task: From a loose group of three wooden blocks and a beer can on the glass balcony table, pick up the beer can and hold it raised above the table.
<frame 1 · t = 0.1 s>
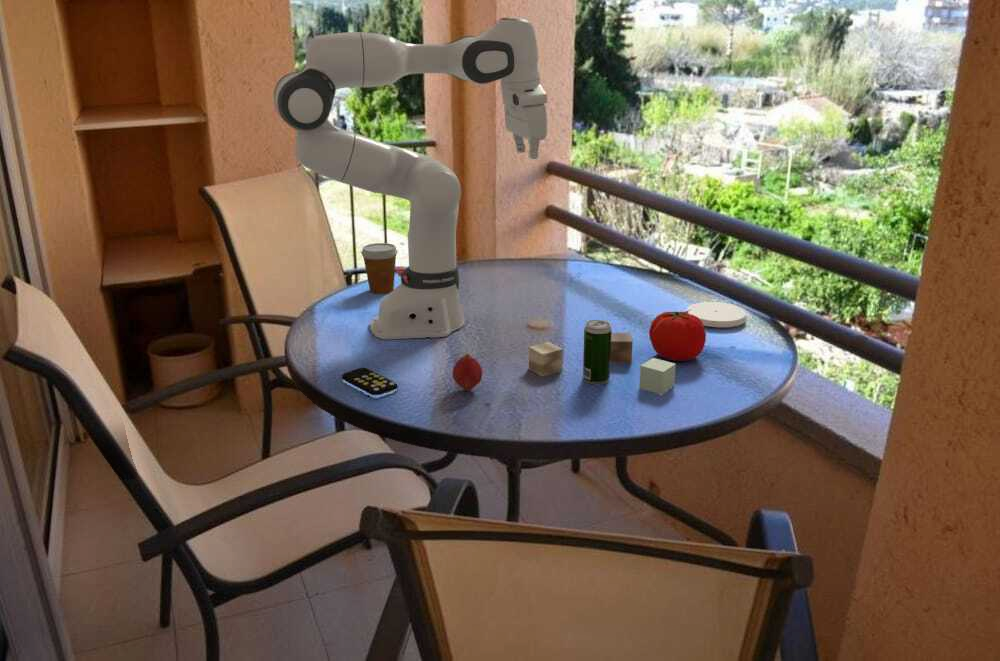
hand: (527, 155, 193), 39 cm above the table, tool pointing down, fingers open, 8 cm apart
tomato: (675, 357, 181), on the table
beer can: (596, 380, 170), on the table
disposable coffee cup: (381, 291, 226), on the table
onion: (467, 391, 165), on the table
sage painted block: (656, 387, 166), on the table
plastic lid: (715, 322, 202), on the table
beech block: (545, 370, 175), on the table
walnut block: (618, 358, 180), on the table
remote control: (369, 388, 168), on the table
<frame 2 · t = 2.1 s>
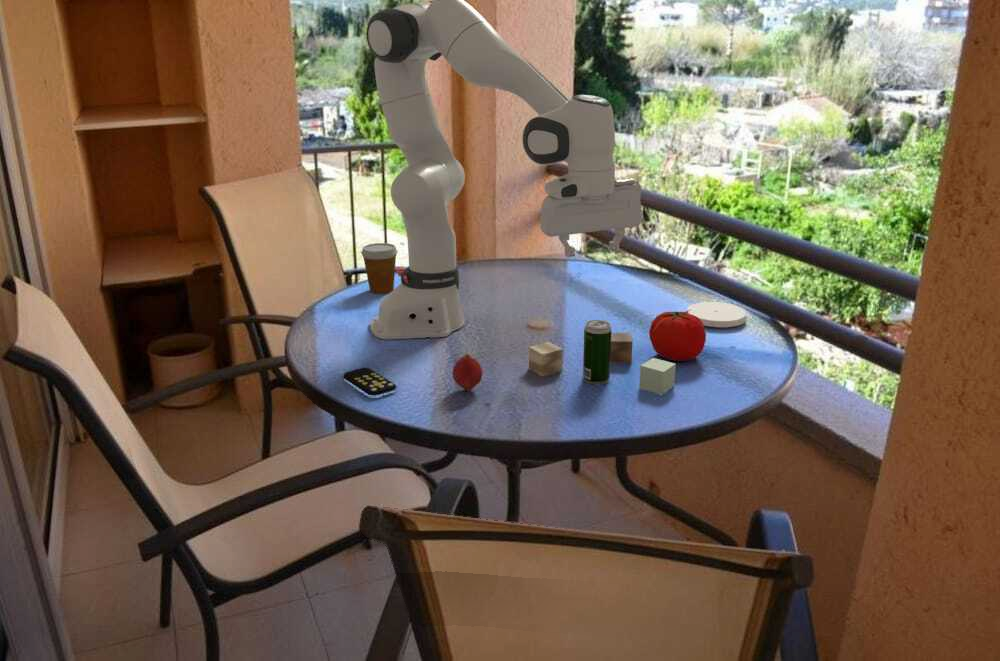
hand: (592, 253, 165), 25 cm above the table, tool pointing down, fingers open, 8 cm apart
nothing on the table moved.
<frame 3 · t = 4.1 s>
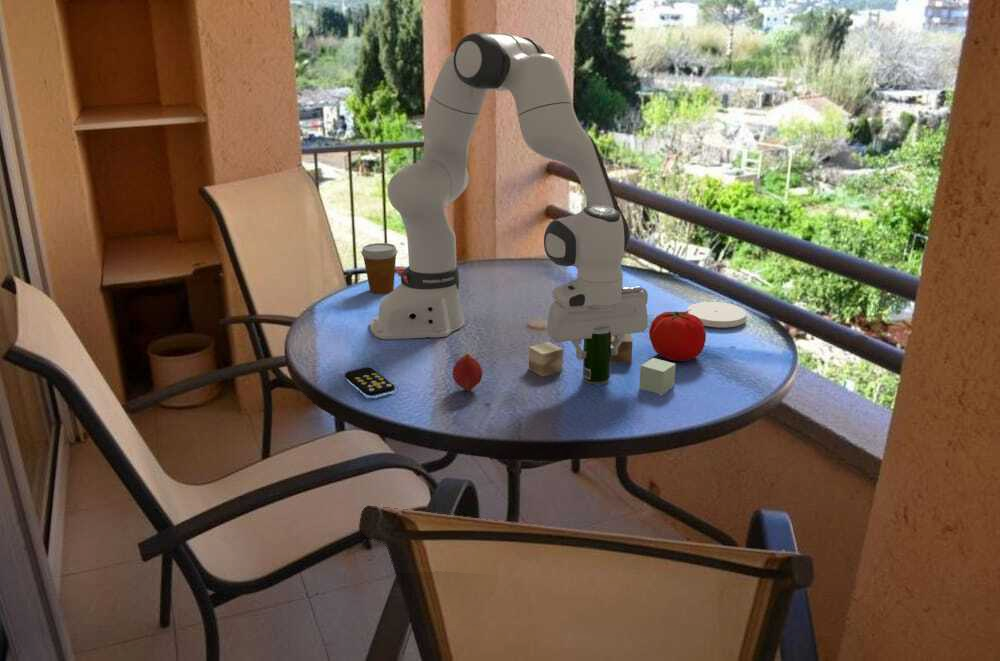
hand: (596, 356, 168), 5 cm above the table, tool pointing down, fingers closed on beer can, 5 cm apart
beer can: (596, 380, 170), on the table, touching gripper
everything else where it was.
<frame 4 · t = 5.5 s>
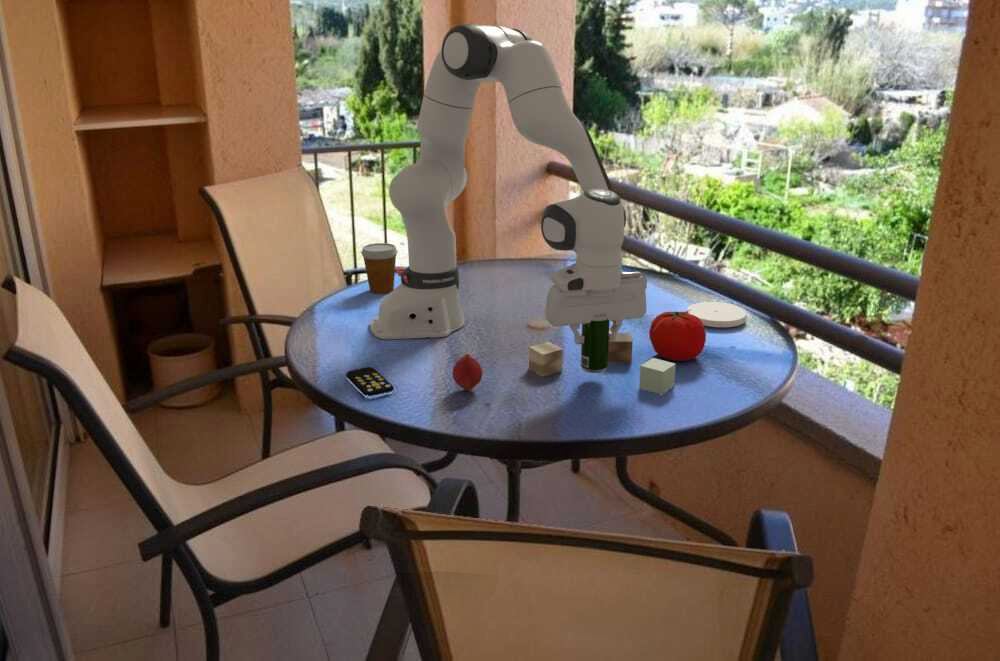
hand: (594, 341, 167), 8 cm above the table, tool pointing down, fingers closed on beer can, 5 cm apart
beer can: (594, 369, 169), point 2 cm above the table, touching gripper
everything else where it was.
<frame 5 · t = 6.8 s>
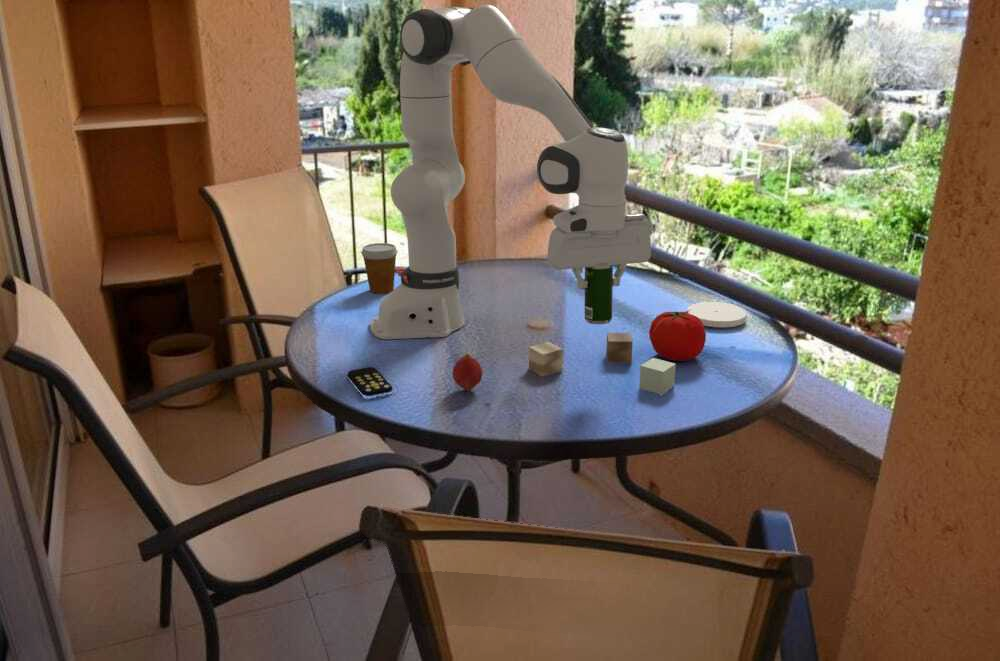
hand: (598, 287, 163), 20 cm above the table, tool pointing down, fingers closed on beer can, 5 cm apart
beer can: (598, 322, 165), point 13 cm above the table, touching gripper
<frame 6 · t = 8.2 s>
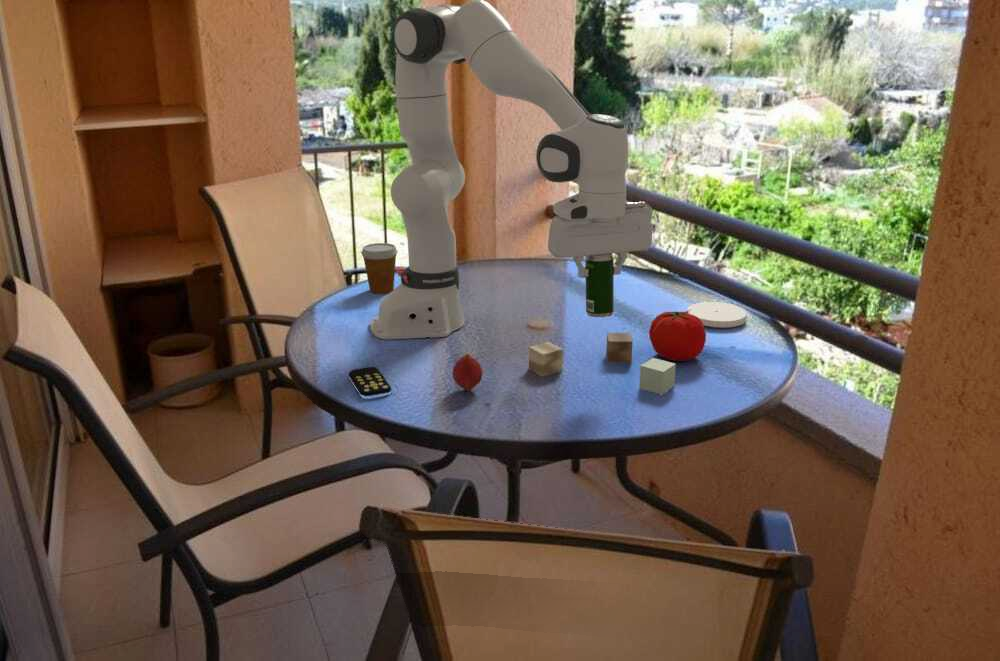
hand: (599, 275, 162), 22 cm above the table, tool pointing down, fingers closed on beer can, 5 cm apart
beer can: (599, 315, 164), point 14 cm above the table, touching gripper
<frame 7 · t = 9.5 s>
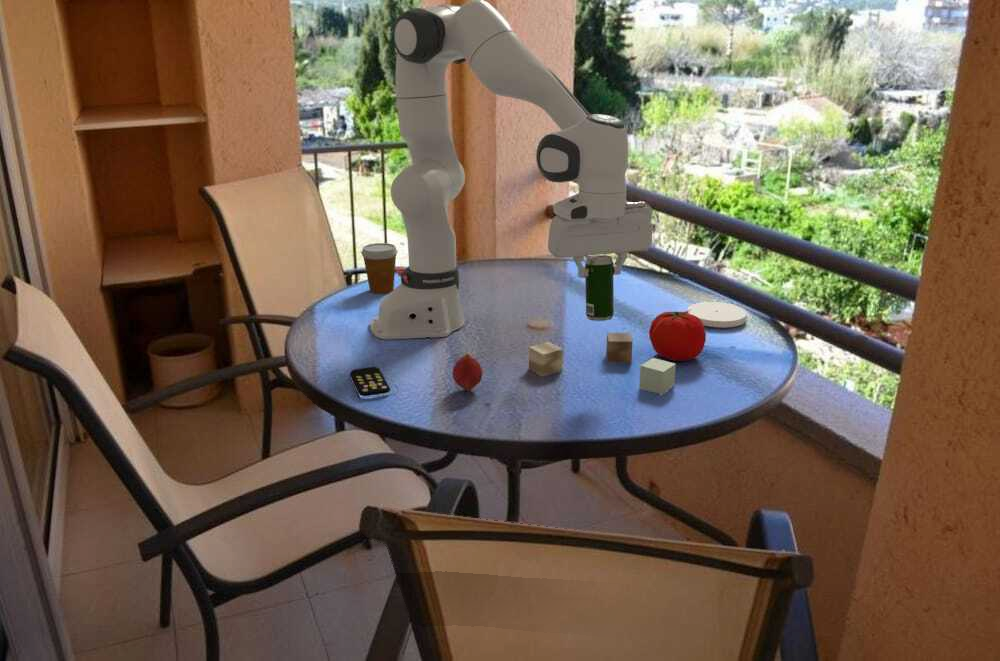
hand: (599, 275, 162), 22 cm above the table, tool pointing down, fingers closed on beer can, 5 cm apart
beer can: (599, 319, 164), point 13 cm above the table, touching gripper
at the end: the gripper is holding beer can; beer can point 13.4 cm above the table; beech block moved 0.1 cm from its start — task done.
